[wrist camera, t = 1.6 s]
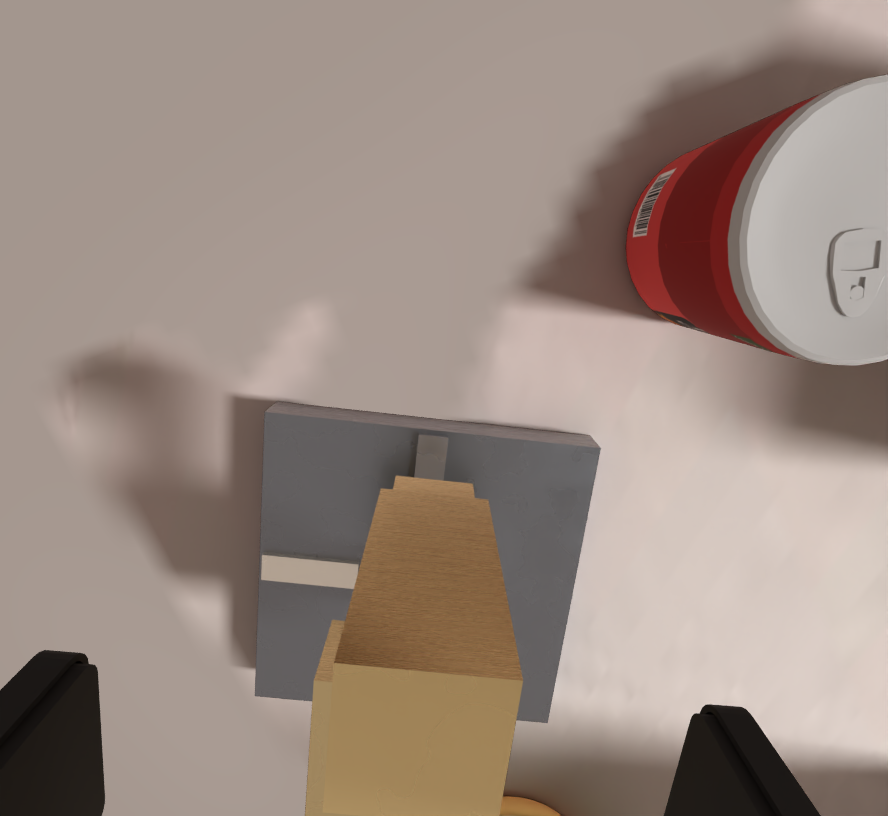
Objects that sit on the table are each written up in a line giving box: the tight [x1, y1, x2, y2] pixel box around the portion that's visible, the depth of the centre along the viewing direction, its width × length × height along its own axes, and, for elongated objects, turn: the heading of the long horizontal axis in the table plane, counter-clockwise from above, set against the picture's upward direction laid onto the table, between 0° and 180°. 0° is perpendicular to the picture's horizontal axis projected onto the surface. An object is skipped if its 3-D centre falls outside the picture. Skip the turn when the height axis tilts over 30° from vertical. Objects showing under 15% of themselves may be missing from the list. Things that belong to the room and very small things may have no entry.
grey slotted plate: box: [255, 402, 601, 723], centre depth 26 cm, size 16×16×9 cm
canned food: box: [626, 75, 888, 365], centre depth 21 cm, size 8×8×11 cm
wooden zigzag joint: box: [305, 476, 523, 816], centre depth 15 cm, size 12×6×10 cm, turn 173°
